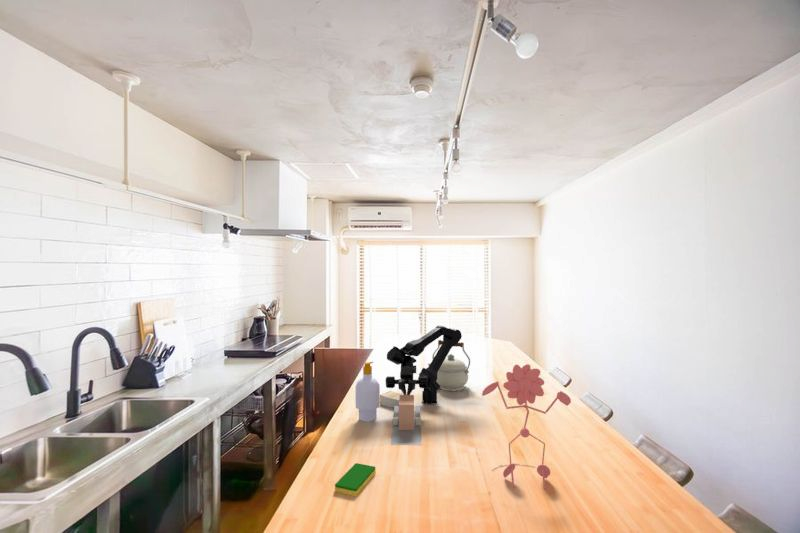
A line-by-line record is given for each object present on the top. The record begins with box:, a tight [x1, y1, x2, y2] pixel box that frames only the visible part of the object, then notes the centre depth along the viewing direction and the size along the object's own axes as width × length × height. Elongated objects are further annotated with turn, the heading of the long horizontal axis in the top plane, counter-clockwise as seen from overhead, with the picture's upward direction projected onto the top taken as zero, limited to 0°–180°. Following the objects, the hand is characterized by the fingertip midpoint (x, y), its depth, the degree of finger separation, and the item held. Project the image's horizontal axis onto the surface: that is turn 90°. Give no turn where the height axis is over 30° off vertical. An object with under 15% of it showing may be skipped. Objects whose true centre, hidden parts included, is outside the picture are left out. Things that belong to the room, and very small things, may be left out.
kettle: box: [427, 339, 471, 392], centre depth 216 cm, size 25×18×25 cm
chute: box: [390, 405, 423, 446], centre depth 162 cm, size 11×34×3 cm, turn 178°
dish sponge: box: [334, 462, 376, 497], centre depth 121 cm, size 7×14×2 cm, turn 159°
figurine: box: [481, 363, 572, 490], centre depth 124 cm, size 15×26×35 cm, turn 84°
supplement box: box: [380, 390, 404, 409], centre depth 187 cm, size 8×5×13 cm
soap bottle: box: [355, 361, 381, 422], centre depth 171 cm, size 10×10×24 cm
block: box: [399, 394, 415, 430], centre depth 164 cm, size 6×12×10 cm, turn 178°
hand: (406, 400), depth 172 cm, fingers closed
